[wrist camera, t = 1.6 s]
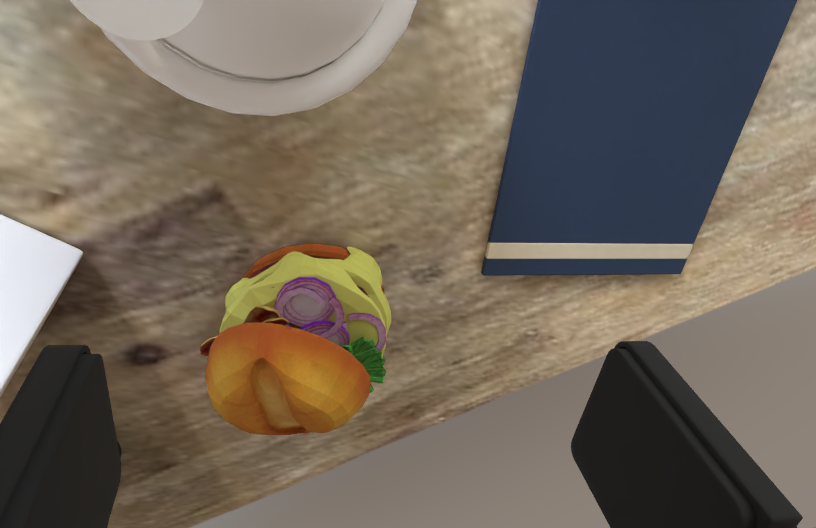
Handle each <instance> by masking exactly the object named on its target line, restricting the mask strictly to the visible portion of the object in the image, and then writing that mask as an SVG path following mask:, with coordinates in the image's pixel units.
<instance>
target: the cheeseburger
mask: <svg viewBox="0 0 816 528" xmlns="http://www.w3.org/2000/svg"><path fill="white" fill-rule="evenodd" d="M347 249H348V250H346V249H344V248H343V247H338V246H331V245H324V244H317V243H309V244H303V245H296V246H289V247H283V248H281V249H278V250H276V251H274V252H272V253H270V254H268V255H265V256H263V257H261V258H259V259H258V260H257V261H256V262H255V263H254V265H253V266H252V267H251V268H250V270H249V271H248V272H247V273H246V274H245V276H244V277H243V278H242V279H241V280H240V281H239V282H238V283H236V284H234V285H233V286H232V287H231V289H230V290H229V292H228V293H227V294H226V297H225V309H226V313H225V315H224V317H223V320H222V324H221V327H220V334H219V335H218V336H216V337H213V338H210V339H208V340H207V341H205V342H204V343H203V344H202V345H201V346H200V351H201V355H204V356H208V361H207V368H206V375H205V379H206V383H207V388H208V392H209V396H210V400H211V404H212V407H213V408H214V409H215V410H216V412H217V413H218V414H219V415H220V416H221V417H222V418H224V419H225V420H226V421H227V422H229V423H230V424H232V425H234V426H235V427H237V428H239V429H241V430H244V431H247V432H249V433H255V434H263V435H291V434H297V433H308V432H317V433H325V432H329V431H332V430H334V429H337V428H339V427H341V426H343V425H344V424H345V423H346V422H348V421H349V420H350V419H351V418H352V417H353V416H354V415H355V414H356V413H357V412H358V411H359V410H360V409H361V408H362V406H363V405H364V403H365V401H366V399H367V397H368V395H369V393H370V392H373V390H374V389H373V387H372V386H371V384H370V382H377V383H383V378H384V376H385V374H386V370H385V369H384V367H383V364H384V362H385V359H384V358H382V357H383V354H384V351H385V348H386V337H387V332H388V330H389V327H390V324H391V310H390V306H389V304H388V301H387V299H386V297H385V295H384V288H383V286H382V282H383V280H382V275H381V270H380V267H379V266H378V265H377V263H376V262H375V260H374V259H373V257H371V256H369V255H368V254H366V253H364V252H363V251H361V250H359V249H356V248H353V247H347Z"/></svg>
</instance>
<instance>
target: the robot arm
mask: <svg viewBox="0 0 816 528" xmlns="http://www.w3.org/2000/svg"><path fill="white" fill-rule="evenodd" d="M571 450H572V455H573V458H574V460H575V462H576V464H577V466H578V467H579V469H580V471H581V473H582V475H583V477H584V478H585V480H586V482H587V484H588V486H589V488H590V490H591V492H592V493H593V495H594V497H595V499H596V501H597V503H598V505H599V507H600V508H601V510H602V512H603V514H604V516H605V518H606V520H607V522H608V524H609V525H610V527H611V528H797V527H796V526H797V525H798V523H799V522H800V521H801V520H802V518H803V517H802V516H801V515H800V514H799V512H798V511H797V510H796V509H795V508H794V507H793V506H792V504H791V503H790V502H789V501H788V500H787V499H786V497H785V496H784V495H783V494H782V493H781V492H780V490H779V489H778V488H777V487H776V486H775V485H774V483H773V482H772V481H771V480H770V479H769V478H768V476H767V475H766V474H765V473H764V472H763V471H762V470H761V468H760V467H759V466H758V465H757V464H756V463H755V462H754V460H753V459H752V458H751V457H750V456H749V455H748V453H747V452H746V451H745V450H744V449H743V448H742V446H741V445H740V444H739V443H738V442H737V441H736V439H735V438H734V437H733V436H732V435H731V434H730V433H729V431H728V430H727V429H726V428H725V427H724V426H723V424H722V423H721V422H720V421H719V420H718V419H717V417H716V416H715V415H714V414H713V413H712V412H711V411H710V409H709V408H708V407H707V406H706V405H705V404H704V402H703V401H702V400H701V399H700V398H699V397H698V395H697V394H696V393H695V392H694V391H693V390H692V389H691V388H690V386H689V385H688V384H687V383H686V382H685V381H684V380H683V378H682V377H681V376H680V375H679V374H678V372H677V371H676V370H675V369H674V368H673V367H672V365H671V364H670V363H669V362H668V361H667V360H666V359H665V357H664V356H663V355H662V354H661V353H660V352H659V351H658V349H657V348H656V347H655V346H654V345H653V344H652V343H650V342H647V341H623V342H619V343H618V344H617V345H616V346H615V348H614V349H611V350H610V351H609V352H608V354H607V356H606V359H605V361H604V364H603V366H602V369H601V371H600V374H599V376H598V378H597V381H596V383H595V386H594V388H593V390H592V393H591V395H590V398H589V400H588V402H587V405H586V407H585V410H584V412H583V414H582V417H581V419H580V422H579V424H578V426H577V429H576V431H575V434H574V436H573V439H572V442H571ZM120 477H121V461H120V456H119V450H118V444H117V438H116V433H115V427H114V421H113V415H112V410H111V404H110V398H109V392H108V387H107V381H106V375H105V369H104V364H103V359H102V356H101V355H100V354H91V353H90V349H89V348H88V346H86V345H48V346H46V347H44V349H43V350H42V351H41V353H40V355H39V356H38V358H37V360H36V362H35V364H34V365H33V367H32V369H31V371H30V372H29V374H28V376H27V378H26V379H25V381H24V383H23V385H22V386H21V388H20V390H19V392H18V394H17V395H16V397H15V399H14V401H13V402H12V404H11V406H10V408H9V409H8V411H7V413H6V415H5V416H4V418H3V420H2V422H1V424H0V528H107V524H108V521H109V518H110V514H111V511H112V507H113V504H114V501H115V497H116V494H117V491H118V487H119V483H120Z"/></svg>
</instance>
